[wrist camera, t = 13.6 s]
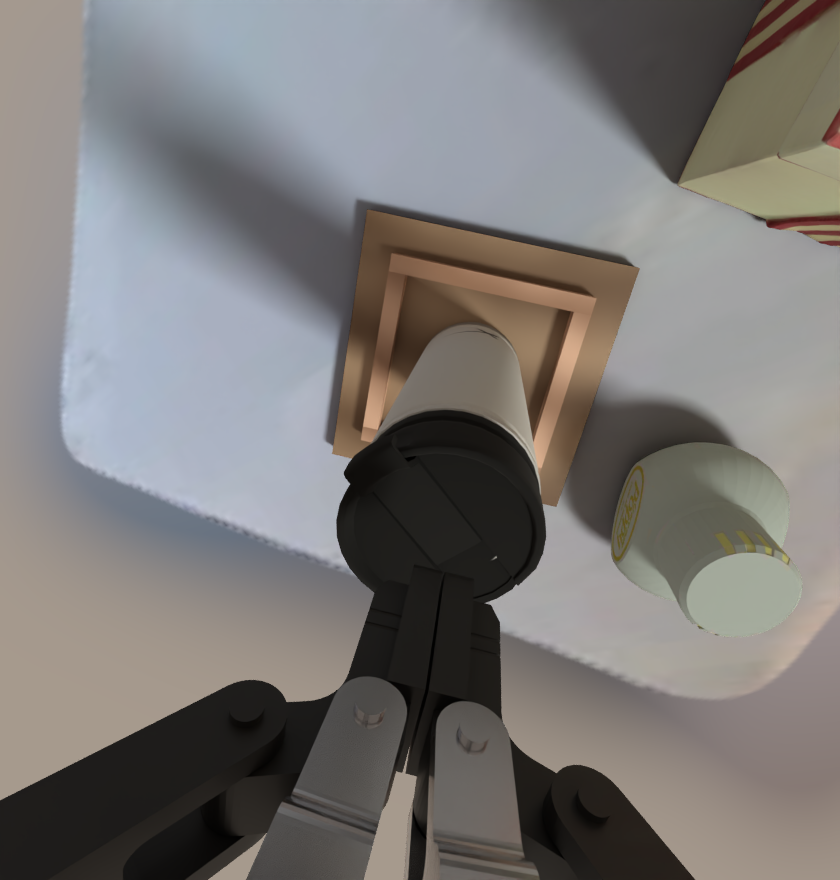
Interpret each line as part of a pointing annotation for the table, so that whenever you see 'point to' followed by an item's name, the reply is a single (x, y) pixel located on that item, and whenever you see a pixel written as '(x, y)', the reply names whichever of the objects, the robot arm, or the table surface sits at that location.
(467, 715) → the robot arm
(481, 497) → the travel mug
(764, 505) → the air freshener
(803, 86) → the gift box
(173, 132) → the table surface
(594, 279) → the tan square plate
